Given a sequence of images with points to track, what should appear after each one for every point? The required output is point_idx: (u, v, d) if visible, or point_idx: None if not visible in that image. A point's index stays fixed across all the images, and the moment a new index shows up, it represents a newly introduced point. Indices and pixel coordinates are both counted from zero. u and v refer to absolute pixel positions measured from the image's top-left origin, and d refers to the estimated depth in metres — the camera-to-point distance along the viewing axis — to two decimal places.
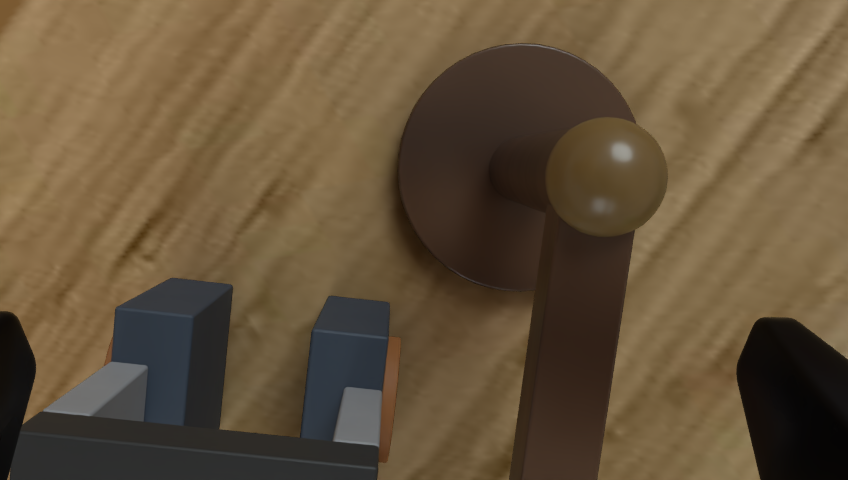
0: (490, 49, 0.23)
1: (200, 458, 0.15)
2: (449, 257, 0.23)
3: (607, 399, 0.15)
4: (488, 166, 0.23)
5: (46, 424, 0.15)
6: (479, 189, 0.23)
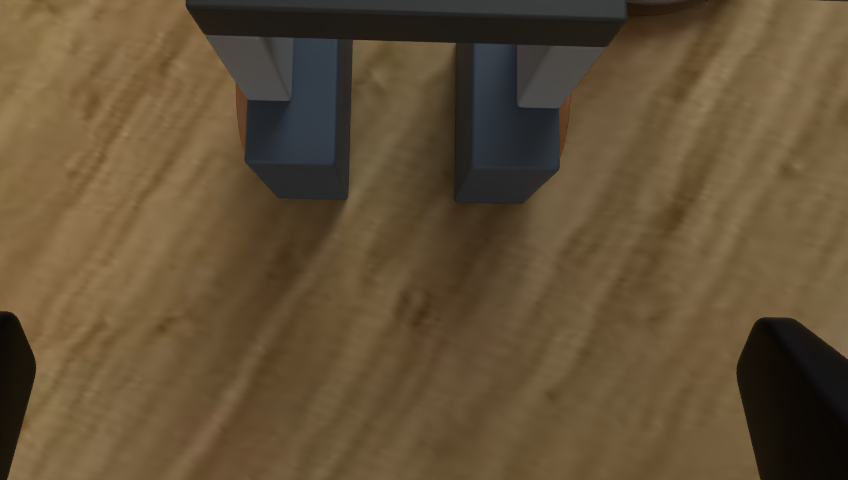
0: None
1: None
2: None
3: None
4: None
5: None
6: None
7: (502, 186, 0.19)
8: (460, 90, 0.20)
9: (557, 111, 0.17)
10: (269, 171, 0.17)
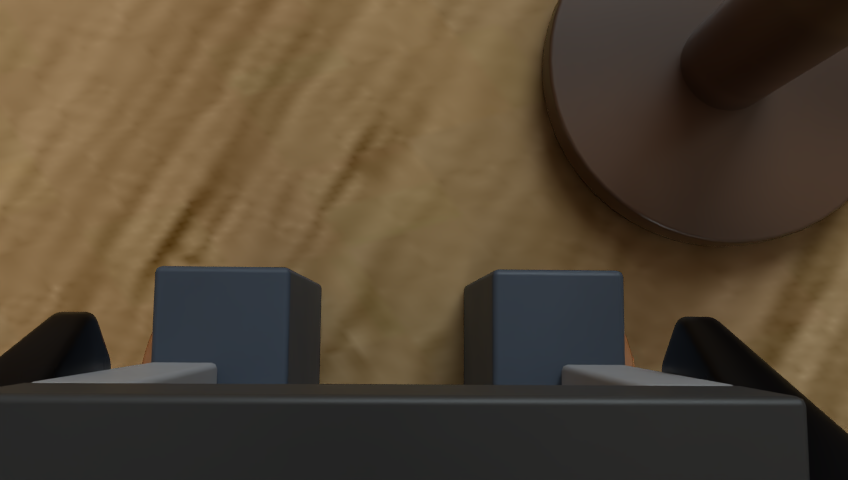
0: None
1: (396, 418, 0.06)
2: (643, 200, 0.16)
3: None
4: (679, 65, 0.16)
5: (30, 389, 0.06)
6: (671, 98, 0.16)
7: None
8: None
9: None
10: None
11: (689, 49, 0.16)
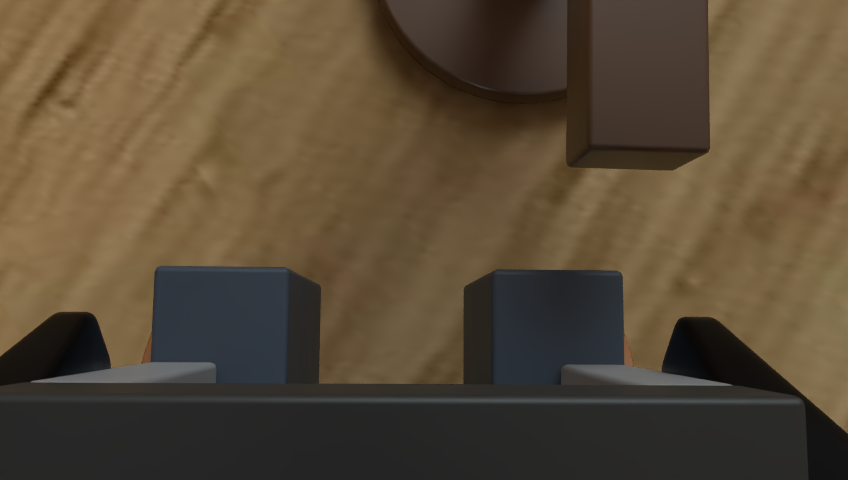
0: None
1: (395, 417, 0.06)
2: (446, 57, 0.19)
3: None
4: None
5: (30, 388, 0.06)
6: None
7: None
8: None
9: None
10: None
11: None
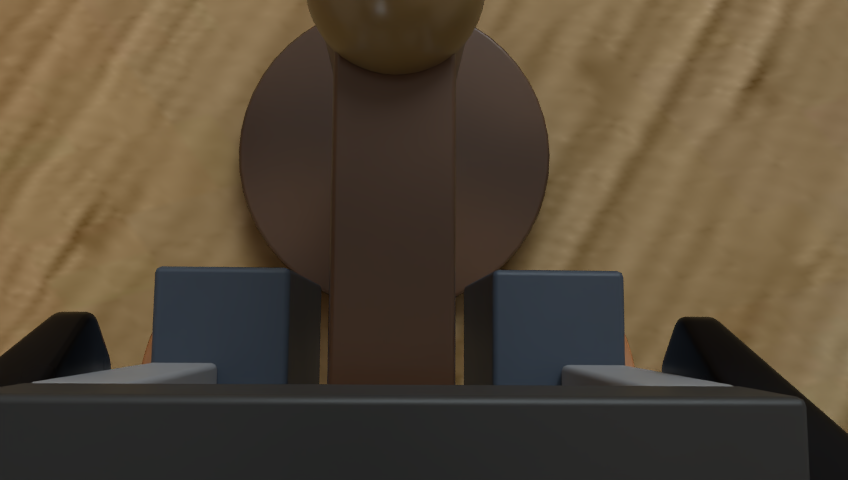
0: None
1: (396, 419, 0.06)
2: (315, 272, 0.18)
3: (451, 331, 0.09)
4: None
5: (30, 389, 0.06)
6: None
7: None
8: None
9: None
10: None
11: None
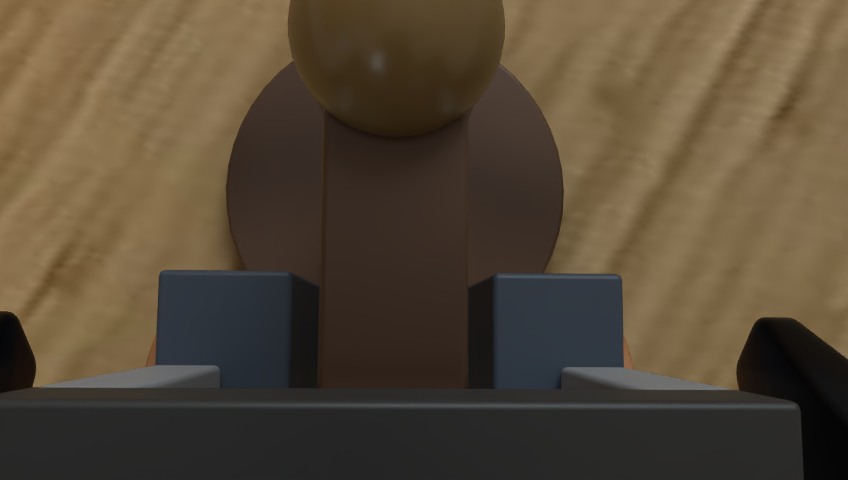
0: None
1: (398, 423, 0.06)
2: None
3: None
4: None
5: (39, 395, 0.07)
6: None
7: None
8: None
9: None
10: None
11: None
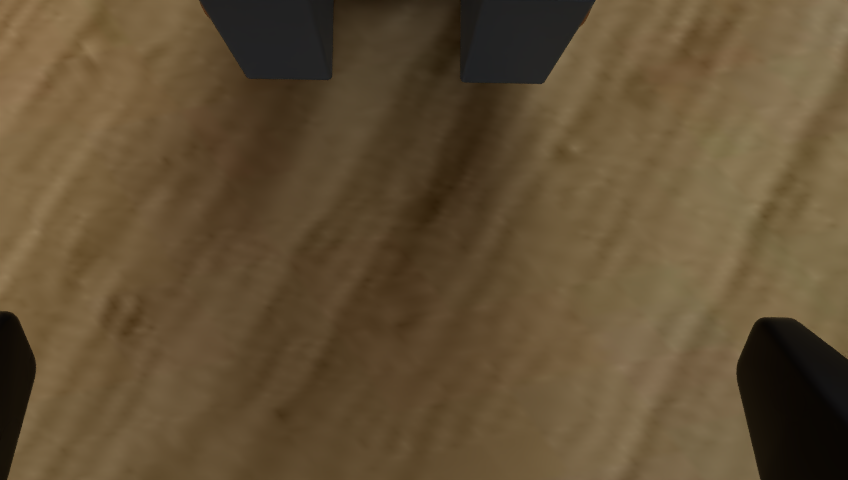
0: None
1: None
2: None
3: None
4: None
5: None
6: None
7: (521, 42, 0.15)
8: None
9: None
10: (227, 12, 0.14)
11: None
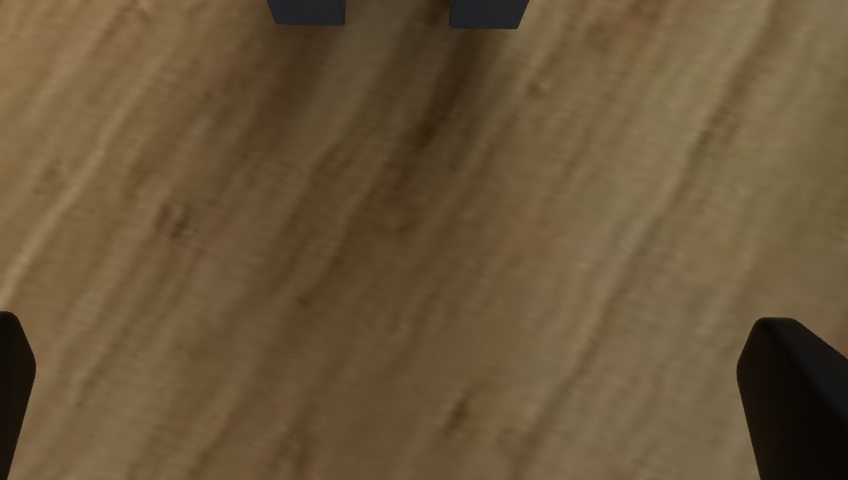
0: None
1: None
2: None
3: None
4: None
5: None
6: None
7: None
8: None
9: None
10: None
11: None
